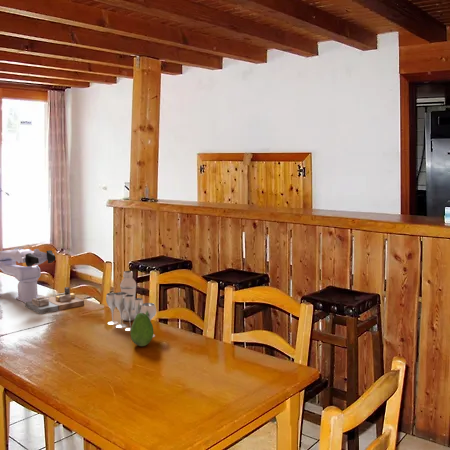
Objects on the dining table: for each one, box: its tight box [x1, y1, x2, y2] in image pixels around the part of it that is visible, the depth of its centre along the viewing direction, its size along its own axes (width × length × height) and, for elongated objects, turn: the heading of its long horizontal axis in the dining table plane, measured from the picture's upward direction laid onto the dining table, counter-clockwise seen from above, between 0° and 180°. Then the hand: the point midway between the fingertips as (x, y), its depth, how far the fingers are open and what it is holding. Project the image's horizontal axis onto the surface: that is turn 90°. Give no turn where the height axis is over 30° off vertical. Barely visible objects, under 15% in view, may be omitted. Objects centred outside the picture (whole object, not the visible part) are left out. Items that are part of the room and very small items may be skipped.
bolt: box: [56, 286, 76, 301], centre depth 246 cm, size 8×2×5 cm, turn 133°
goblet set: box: [105, 291, 157, 338], centre depth 210 cm, size 28×6×13 cm, turn 46°
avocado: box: [130, 313, 154, 347], centre depth 193 cm, size 8×8×12 cm
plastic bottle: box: [119, 270, 137, 322], centre depth 221 cm, size 6×7×20 cm
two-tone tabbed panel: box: [24, 292, 85, 315], centre depth 243 cm, size 20×15×4 cm
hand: (46, 259), depth 237 cm, fingers open, 7 cm apart
